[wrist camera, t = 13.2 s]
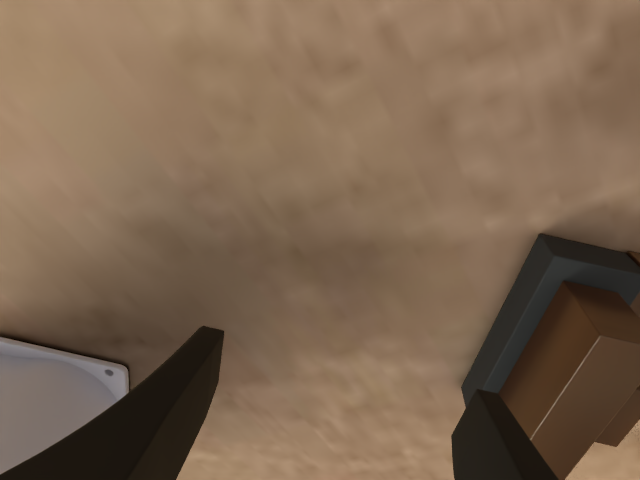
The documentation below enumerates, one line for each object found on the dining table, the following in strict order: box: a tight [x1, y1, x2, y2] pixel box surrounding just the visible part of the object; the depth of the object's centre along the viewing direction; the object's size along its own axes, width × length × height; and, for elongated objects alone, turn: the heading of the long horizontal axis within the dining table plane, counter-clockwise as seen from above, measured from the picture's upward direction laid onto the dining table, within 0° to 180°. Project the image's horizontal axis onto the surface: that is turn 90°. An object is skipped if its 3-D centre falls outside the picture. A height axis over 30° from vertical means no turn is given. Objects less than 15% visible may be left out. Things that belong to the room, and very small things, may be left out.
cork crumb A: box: [595, 385, 640, 447], centre depth 23 cm, size 4×4×2 cm
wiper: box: [461, 234, 640, 480], centre depth 20 cm, size 4×10×6 cm, turn 169°
